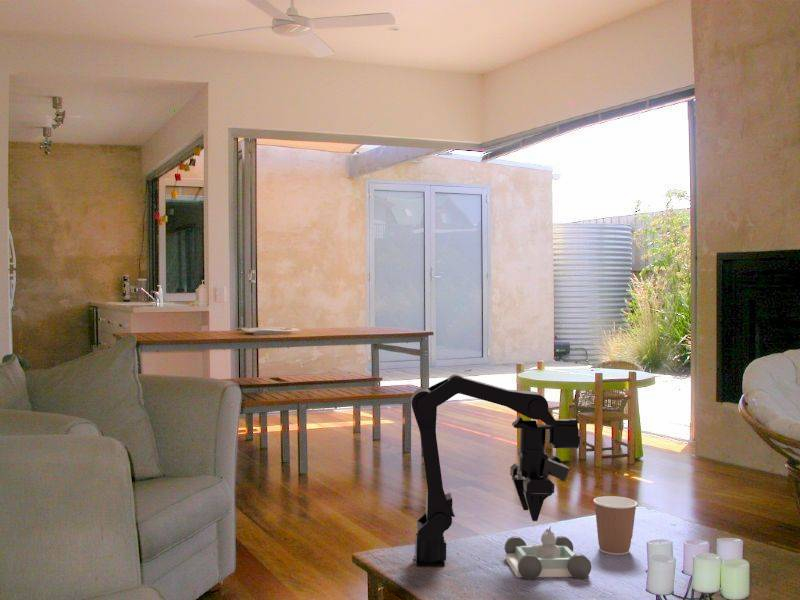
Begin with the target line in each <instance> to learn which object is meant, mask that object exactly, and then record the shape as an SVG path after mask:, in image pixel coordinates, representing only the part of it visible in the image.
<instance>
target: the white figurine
mask: <svg viewBox="0 0 800 600" xmlns="http://www.w3.org/2000/svg"><path fill="white" fill-rule="evenodd" d="M551 527H552V526H551V525H550V526H549V528H546V529H545V531H543V532H542V534H541V537H540V541H541V543H539V544H537V543H536V544H534V545H531V546H532V548H533V551H534V553H533V555H534V556H536V557H540V558H559V556H560V549H559V548H558V547H557V546H556V545H555V543H556V540H557V538H556V537H557V536H555V533H554V532H553V531H552V530H551V529H552V528H551Z"/></svg>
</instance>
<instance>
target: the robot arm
mask: <svg viewBox="0 0 800 600" xmlns="http://www.w3.org/2000/svg"><path fill="white" fill-rule="evenodd" d="M458 394H460V395H464V396H468V397H470V398H474V399H478V400H480V401H481V400H483V401H486V402H489V403H493V404H495V405H500V406H504V407H506V408H508V409H511V410H513V411H514V412H516V413H518V414H520V415H523V416H524V417H526V418H529V420H528V419H524V418H522V417H521V416H518V417H517V419H515V420H514V421H513V422H512V423H511V425H512V427H513V428H514V429H520V433H519V435H520V440H519V449H517V455H518V456H519V459H518V460H519V463H513V464H512V465H511V466H510V467H509V468H510V469H509V472H510V473H509V475H510V476H511V481H512V482H513V484H514V489H515V490H516V494H517V496H518V499H519V501H520V505H521V507H522V509H523V511H529V514H530V517H531V520H532V522H537V521H538V520H539V517H540V514H541V510H542V507H543V504H544V502H545V499H547V498H548V497H551V496H552V495H553V494H555V484H554V483H553V481H552V480H551V479H550V478H549V476H550V477H553V478H554V477H555V478H557V479H558V480H560V481H561V482H564V483H565V482H566V480H567V478H568V475H569V473H570V471H571V468H570V467H569V466H567V465H565V464H564V463H562V462H561V461H562V460H561V458H560V457H558V456H556V455H552V456H551V457H549V455H548V454H547V453H546V441H547V444H548V445H549V444H551V448H553V449H563V450H565V449H569V450H570V449H571V450H572V449H573V450H578V449H579V447H580V443H581V435H580V429H579V426H578V425H579V424H578V423H579V421H578V419H577V418H562V419H561V418H555V417H554V416H553V415H552V414H551V412H550V411H549V403H548V400H547V398H545V396H543V395H541V394H540V393H538V392H537V391H531V390H523V389H522V390H521V389H520V390H519V389H506V388H504V387H499V386H496V385H493V384H489V383H485V382H481V381H479V380H475V379H472V378H471V379H470V378H469V377H468V378H467V377H464V376H461V375H459V374H456V373H455V374H452V375H450V376H448V377H447V378H446V379H444V380H441V381H439V382H437V383H436V384H433V385H431V386H430V387H428V388H425V387H424V388H423V387H421V388H417V389H416V390H415V391H414V392H413V393H412V394H411V396H410V403H411V408H412V411H413V414H414V415H413V416H414V417H415V418H414V419H415V421H416V424H417V427H418V430H419V436H420V443H421V449H422V450H421V451H422V458H423V467H424V473H425V480H426V482H425V483H426V497H425V498H426V499H425V513H424V514H423V515H421V516H420V517H419V518H418V519H417V520H416V528H417V532H415V535H414V536H415V537H414V538H415V539H414V541H415V542H414V555H413V558H414V562H415V565H416V566H418V567H437V566H439V567H443V566H445V565H446V561H447V541H446V540H445V536H444V533H445V532H446V531H448V530H449V529H450V527H451V526H452V524H453V518H455V517H456V515H455V512H454V509H453V496H452V494H451V492H449V493H448V492H447V493H445V490H444V487H443V486H444V485H443V477H442V471H441V464H440V456H439V447H438V439H437V438H438V437H437V433H436V428H437V417H438V416H437V412H438V407H439V406H441V405H442V404H444V403H445V402H447V401H448V400H450V399H452V397H455V396H456V395H458ZM537 421H541V422H542V423H544V424H542V423H541V424H539V423H537Z"/></svg>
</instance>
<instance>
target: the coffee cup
mask: <svg viewBox="0 0 800 600" xmlns="http://www.w3.org/2000/svg"><path fill="white" fill-rule="evenodd" d="M593 503H594V509H595V518H596V520H595V521H596V530H597V532H596V533H597V541H598V542H597V543H598V547H599V550H600V552H602V553H603V554H607V555H614V556H624V555H627V554H629V553H630V549H631V545H632V539H633V534H634V525H635V515H636V510H637V506H638V502H637V501H636V500H634V499H632V498H628V497H623V496H615V495H614V496H612V495H611V496H610V495H604V496H599V497H595V498H593Z"/></svg>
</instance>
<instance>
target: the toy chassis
mask: <svg viewBox="0 0 800 600" xmlns="http://www.w3.org/2000/svg"><path fill="white" fill-rule="evenodd" d="M555 537H556V538H557V540H556V543H555V545H556V546H557V547H558V548H559V549H560V556H559V558H540V557H536V556H534V555H533V553H534V551H533V548H532V546H533V545H527V543H526V542H525V540H524V539H523V538H521V536H516V535H515V536H511V537H509V538H508V539H507V540H506V541H505V543H504V552H505V561H506V562H507V564H508V565H509V567H510V568H511V571H512V572H513V573H514V575H515V577H517V578H524V579H526V580H531V581H532V580H534V579H537V578H564V577H565V578H566V577H567V578H568V577H571V578H575V579H578V580H582V579H585V578H587V577H590V573H591V571H592V563H591V561H590V559H589V558H588V557H587V556H585V554H582V553H574V544H573V543H572V540H570V539H569V538H568V537H567V536H564V535H559V536H555Z"/></svg>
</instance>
